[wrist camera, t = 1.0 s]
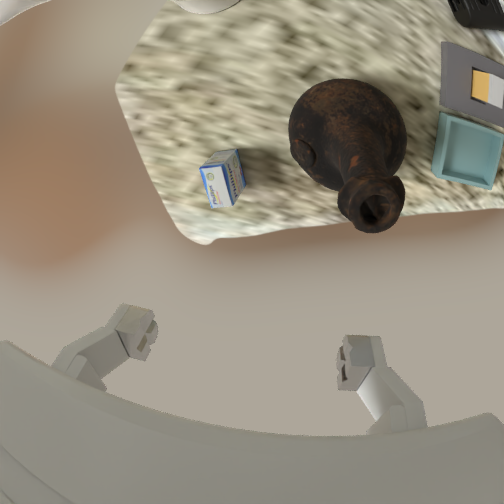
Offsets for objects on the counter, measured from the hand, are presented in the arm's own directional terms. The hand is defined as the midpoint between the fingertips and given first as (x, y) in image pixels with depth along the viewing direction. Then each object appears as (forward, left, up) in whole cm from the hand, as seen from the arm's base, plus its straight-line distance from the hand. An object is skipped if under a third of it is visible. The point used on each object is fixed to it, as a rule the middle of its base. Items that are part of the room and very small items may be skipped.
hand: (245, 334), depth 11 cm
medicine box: (+10, -14, -41) cm, 45 cm away
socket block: (-12, +31, -41) cm, 52 cm away
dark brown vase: (+1, +7, -41) cm, 42 cm away
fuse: (-12, +31, -40) cm, 52 cm away
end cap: (-27, +31, -41) cm, 58 cm away
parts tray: (+1, +31, -41) cm, 51 cm away
